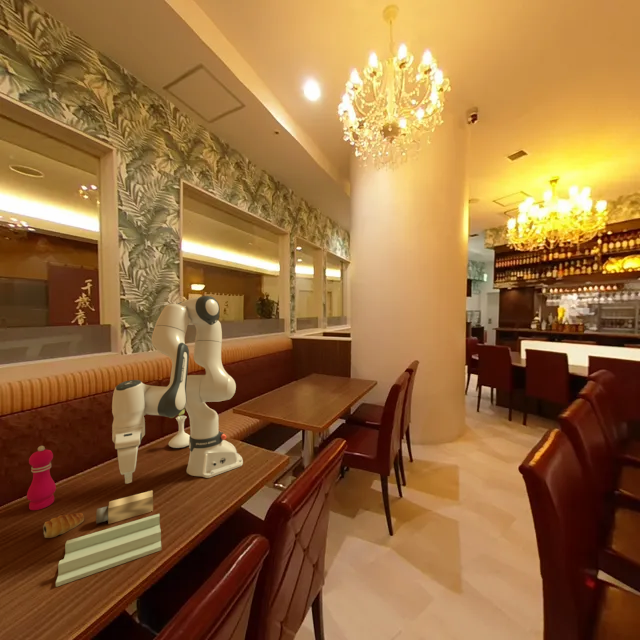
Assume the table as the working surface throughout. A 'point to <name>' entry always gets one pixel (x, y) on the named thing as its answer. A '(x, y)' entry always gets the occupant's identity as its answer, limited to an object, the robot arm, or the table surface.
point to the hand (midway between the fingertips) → (129, 475)
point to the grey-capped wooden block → (126, 508)
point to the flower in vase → (180, 433)
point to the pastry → (62, 524)
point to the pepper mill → (41, 480)
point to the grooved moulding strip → (109, 548)
